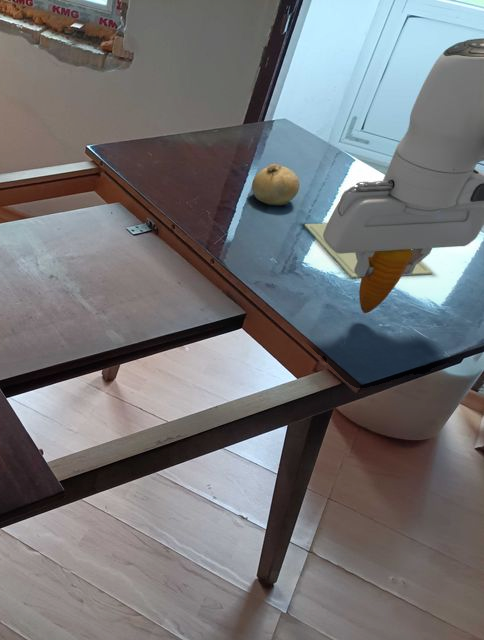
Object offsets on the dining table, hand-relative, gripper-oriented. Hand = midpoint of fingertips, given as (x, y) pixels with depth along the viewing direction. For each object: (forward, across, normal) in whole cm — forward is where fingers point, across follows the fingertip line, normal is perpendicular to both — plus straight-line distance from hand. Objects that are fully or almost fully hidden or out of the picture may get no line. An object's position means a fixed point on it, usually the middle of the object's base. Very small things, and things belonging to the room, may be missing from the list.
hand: (382, 273), depth 93 cm
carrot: (+7, 0, 0) cm, 7 cm away
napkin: (+8, +12, +18) cm, 23 cm away
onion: (+8, +3, +36) cm, 36 cm away
